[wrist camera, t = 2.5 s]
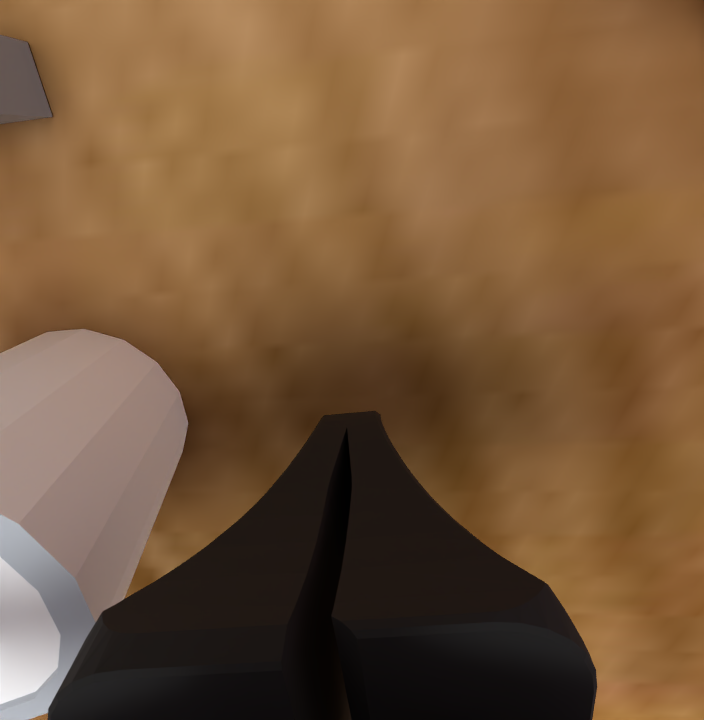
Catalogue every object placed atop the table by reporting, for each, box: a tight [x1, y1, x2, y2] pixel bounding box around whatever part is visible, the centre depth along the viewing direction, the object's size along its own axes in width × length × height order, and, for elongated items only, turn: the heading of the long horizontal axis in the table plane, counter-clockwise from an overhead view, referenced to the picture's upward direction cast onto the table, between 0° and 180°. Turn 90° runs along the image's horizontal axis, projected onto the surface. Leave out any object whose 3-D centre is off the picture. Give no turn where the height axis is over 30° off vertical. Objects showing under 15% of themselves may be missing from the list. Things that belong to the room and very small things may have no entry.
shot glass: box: [0, 329, 188, 720], centre depth 12 cm, size 7×7×7 cm
